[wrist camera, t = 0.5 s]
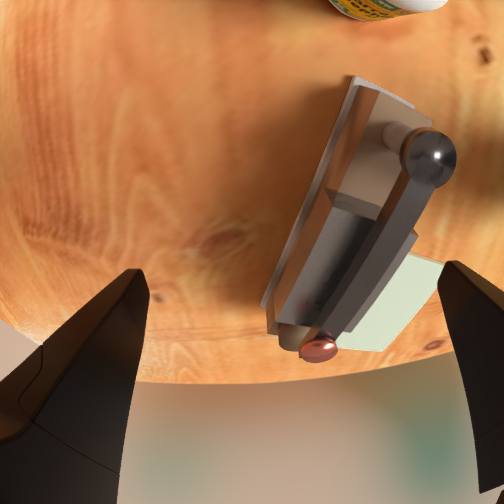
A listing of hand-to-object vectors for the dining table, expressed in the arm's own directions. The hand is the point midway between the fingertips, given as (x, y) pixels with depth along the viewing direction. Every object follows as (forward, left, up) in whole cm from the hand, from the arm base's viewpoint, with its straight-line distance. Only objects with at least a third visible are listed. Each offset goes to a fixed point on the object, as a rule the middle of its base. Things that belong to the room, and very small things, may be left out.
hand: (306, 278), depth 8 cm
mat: (-15, +12, -14) cm, 24 cm away
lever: (-6, +3, -6) cm, 9 cm away
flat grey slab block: (-6, +5, -10) cm, 12 cm away
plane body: (-6, +4, -14) cm, 15 cm away
